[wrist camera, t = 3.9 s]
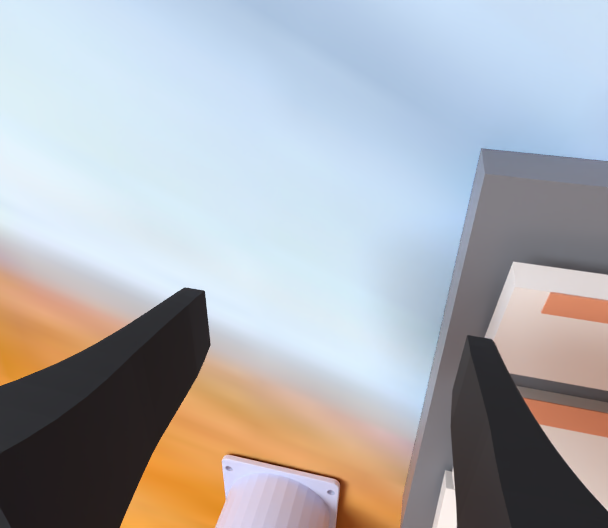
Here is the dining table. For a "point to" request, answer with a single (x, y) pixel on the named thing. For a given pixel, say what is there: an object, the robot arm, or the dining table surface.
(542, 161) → the grey flat board
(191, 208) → the dining table surface
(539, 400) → the block
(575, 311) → the white tile
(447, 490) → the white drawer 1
